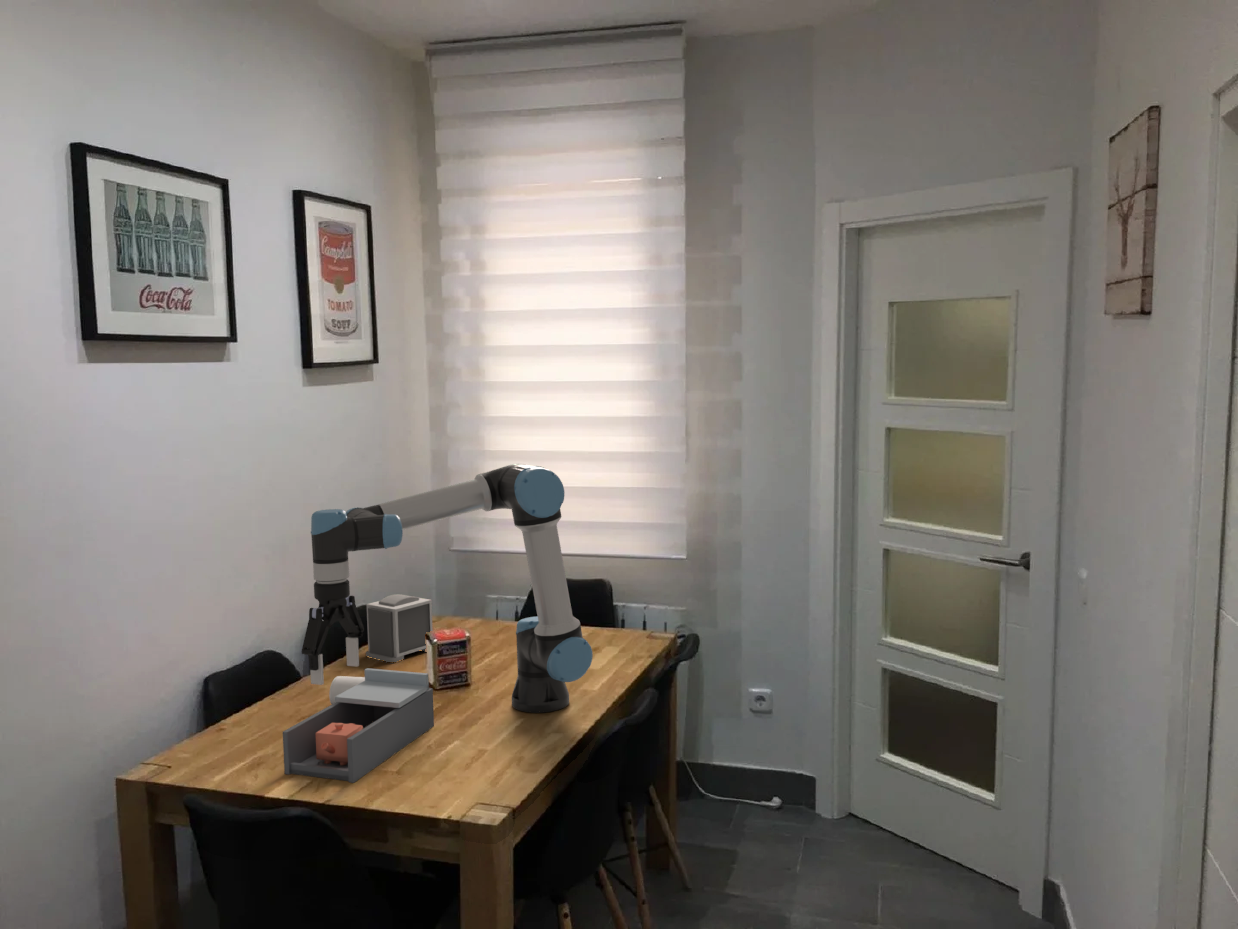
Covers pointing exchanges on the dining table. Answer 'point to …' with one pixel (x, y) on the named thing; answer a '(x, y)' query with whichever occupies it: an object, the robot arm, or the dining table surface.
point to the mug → (343, 685)
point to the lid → (386, 688)
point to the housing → (357, 737)
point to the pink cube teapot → (335, 742)
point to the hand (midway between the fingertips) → (335, 674)
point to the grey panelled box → (397, 626)
